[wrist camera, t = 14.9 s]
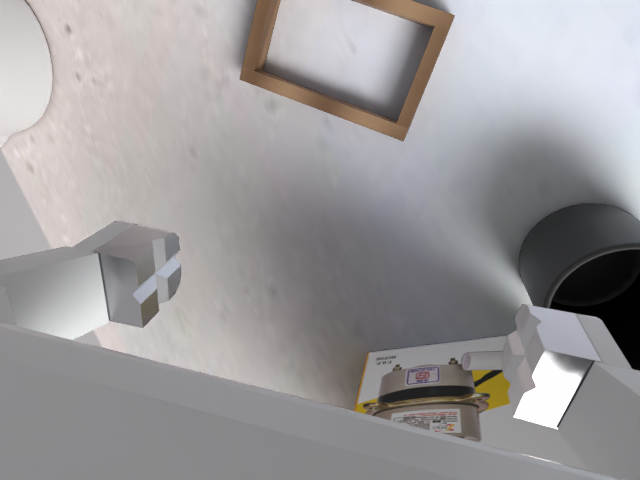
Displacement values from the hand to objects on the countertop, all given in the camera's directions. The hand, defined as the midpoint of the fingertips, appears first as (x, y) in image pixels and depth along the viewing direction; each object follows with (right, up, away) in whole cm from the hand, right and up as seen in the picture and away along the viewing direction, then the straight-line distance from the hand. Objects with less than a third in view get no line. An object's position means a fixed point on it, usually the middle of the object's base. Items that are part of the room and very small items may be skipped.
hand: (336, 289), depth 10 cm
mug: (+22, -1, +24) cm, 33 cm away
